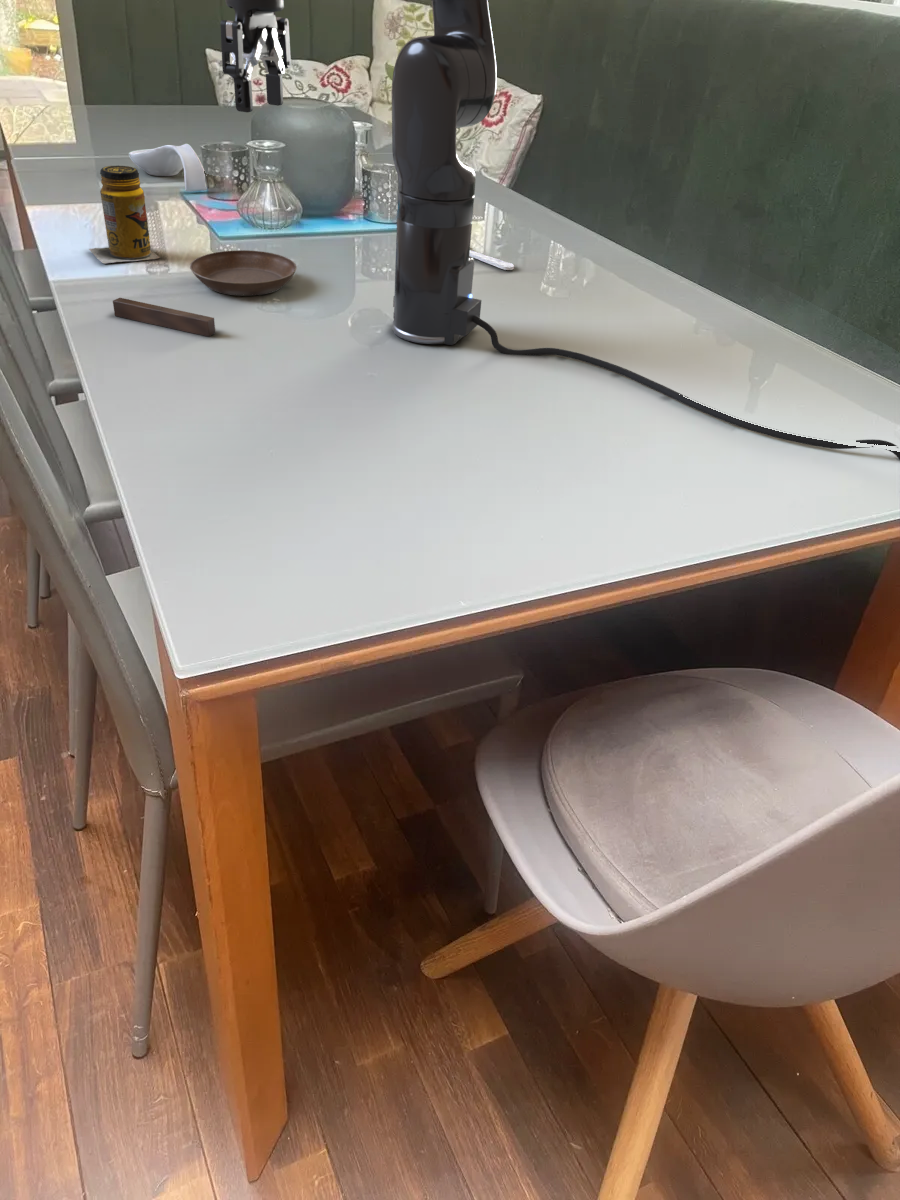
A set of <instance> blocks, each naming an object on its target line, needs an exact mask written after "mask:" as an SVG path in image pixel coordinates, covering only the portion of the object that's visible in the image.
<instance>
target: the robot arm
mask: <svg viewBox="0 0 900 1200" xmlns="http://www.w3.org/2000/svg"><path fill="white" fill-rule="evenodd" d="M430 1H431V10H432V20H433V21H432V22H433V35H422V36H421V35H420V36H417V37H414V38H411V39H410V40H409V41H407V42H406V43H405V44H404V45H403V46H402V48H401V49H400V51H399V53H398V55H397V57H396V60H395V63H394V67H393V71H392V79H391V148H392V149H391V151H392V159H393V160H392V161H393V165H394V167H395V171H396V175H397V179H398V180H397V212H396V214H397V215H396V239H395V240H396V241H395V268H394V271H395V272H394V292H393V293H394V295H393V300H392V301H393V303H392V305H393V306H392V307H393V321H392V332H393V333H394V335H395V336H397V337H399V338H401V339H402V340H405V341H409V342H411V343H416V344H424V345H448V346H454V345H455V344H456V343H457V342H459V341H460V340H461V339H462V338H464V337H467V336H468V335H469V334H470V333H471V332H472V331H473V330H474V329H476V327H478V326H479V327H480V328H482V329H483V330H485V331H486V332H487V333H488V334H489V337H490V340H491V341H490V342H491V345H492V347H493V348H494V350H495V351H498V352H499V353H501V354H504V355H512V356H545V355H546V356H547V355H548V356H549V355H550V356H558V357H563V358H567V359H568V358H569V359H572V360H577V361H581V362H582V363H583V362H584V363H586V364H590V365H593V366H596V367H599V368H602V369H604V370H607V371H610V372H613V373H616V374H618V375H621V376H623V377H626V378H627V379H631V380H632V381H634V382H637V383H639V384H641V385H643V386H645V387H647V388H650V389H652V390H654V391H656V392H659V393H661V394H663V395H665V396H667V397H669V398H671V399H673V400H675V401H677V402H678V403H679V402H680V403H682V404H683V405H686V406H687V407H690V408H692V409H695V410H696V411H699V412H701V413H704V414H706V415H709V416H711V417H713V418H716V419H718V420H720V421H723V422H726V423H729V424H731V425H733V426H736V427H739V428H742V429H745V430H748V431H751V432H755V433H758V434H761V435H765V436H769V437H772V438H776V439H779V440H784V441H788V442H793V443H798V444H803V445H808V446H812V447H817V448H823V449H832V450H849V449H864V448H865V449H866V448H867V449H868V448H869V447H856V446H848V445H843V444H837V443H833V442H828V441H823V440H817V439H812V438H806V437H801V436H796V435H792V434H787V433H783V432H779V431H775V430H772V429H768V428H764V427H761V426H758V425H754V424H751V423H748V422H745V421H742V420H739V419H736V418H733V417H731V416H728V415H726V414H723V413H721V412H718V411H716V410H713V409H711V408H708V407H706V406H703V405H701V404H699V403H696V402H694V401H692V400H690V399H687V398H689V397H688V396H686V395H684V394H682V393H680V392H677V391H676V390H674V389H672V388H670V387H668V386H666V385H663V384H661V383H659V382H657V381H655V380H652V379H650V378H648V377H646V376H643V375H641V374H638V373H637V372H635V371H632V370H630V369H627V368H624V367H622V366H620V365H617V364H615V363H611V362H608V361H605V360H603V359H600V358H596V357H593V356H590V355H588V354H583V353H580V352H576V351H573V350H568V349H562V348H556V347H538V348H537V347H536V348H529V349H512V348H508V347H506V346H504V345H502V344H501V343H500V341H499V338H498V334H497V331H496V330H495V329H494V328H493V326H492V325H490V323H488V322H486V321H485V320H483V319H482V318H481V310H482V299H479V298H473V294H472V293H473V280H474V269H475V258H473V257H471V256H469V254H470V250H471V240H472V231H473V230H472V227H473V215H474V203H475V191H476V178H477V177H476V173H475V170H474V169H473V167H472V166H470V165H469V164H467V163H465V162H463V161H462V160H460V159H459V157H458V154H457V129H460V128H467V127H468V128H469V127H472V126H475V125H477V124H480V123H481V122H482V121H483V120H484V119H485V118H486V117H487V116H488V114H489V113H490V112H491V109H492V107H493V104H494V102H495V98H496V92H497V81H498V80H497V79H498V78H497V76H498V75H497V60H496V53H495V45H494V38H493V37H494V36H493V31H492V23H491V17H490V10H489V2H488V1H489V0H430ZM224 2H225V5H226V6H227V7H228V8H230V9H233V10H234V20H228V19H222V20H221V21H220V45H221V46H220V47H221V66H222V68H221V69H222V73H223V74H224V75H227V76H230V78H231V79H233V88H234V102H235V109H236V111H237V112H242V113H251V112H253V109H254V104H253V103H254V102H253V86H252V85H253V83H252V80H251V78H252V75H253V71H254V67H256V66H257V65H258V64H259V61H260V60H261V61H262V64H263V67H264V69H265V72H267V73H266V74H265V89H266V91H265V92H266V102H267V104H268V105H270V106H282V105H283V104H284V89H283V88H284V87H283V75H284V74H285V73H286V69H290V68H291V66H292V57H291V39H290V25H289V24H290V22H289V18H286V17H281V16H276V12H281V11H283V10H284V8H285V0H225V1H224ZM231 58H232V63H231ZM679 394H680V395H679ZM683 395H684V396H685V397H687V398H685V397H683ZM856 442H860V443H867V444H874V445H875V444H876V445H877V444H878V445H886V446H887V445H888V446H897V445H896V444H895V443H893V442H890V441H887V440H882V439H856ZM885 450H886V451H889V452H891V453H892V454H893V455H894V456H896V457H897V459H898V460H899V461H900V452H897V451H891V450H887V449H885Z"/></svg>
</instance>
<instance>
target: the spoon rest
mask: <svg viewBox="0 0 900 1200" xmlns="http://www.w3.org/2000/svg"><path fill="white" fill-rule="evenodd" d="M128 157H129V158H130V160H131V162H132V163H133V164H134V165H135V166H137V167H138V168H139V169H140V170H142V171H144V172H145V173H146V174H148V175H151V176H156V177H173V176H176V175H178V174H179V173H180V172H181V171H182V170H183V176H184V179H183V180H184V189H185V192H187V193H189V192H190V193H192V192H202V191H203V192H204V191H208V190H207V187H205V174H204V171H205V169H204V165H203V163H202V162H201V160H200V158H199V156H198V154H197V153H196V151H195V150H194V149H193V147H192V146H191V145H190V144H188V143H184V144H181V145H173V144H167V145H162V146H158V147H155V148H149V149H148V148H147V149H137V150H131V151H129V152H128Z"/></svg>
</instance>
